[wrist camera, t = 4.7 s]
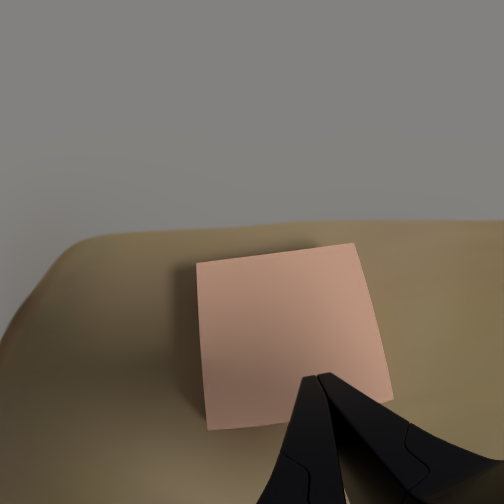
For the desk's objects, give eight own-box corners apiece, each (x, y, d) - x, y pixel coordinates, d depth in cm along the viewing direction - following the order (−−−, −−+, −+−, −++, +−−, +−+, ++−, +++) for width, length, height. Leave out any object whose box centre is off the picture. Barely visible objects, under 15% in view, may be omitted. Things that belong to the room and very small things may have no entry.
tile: (393, 399, 12) (353, 242, 16) (207, 430, 12) (196, 263, 16) (375, 404, 14) (344, 267, 18) (217, 429, 14) (205, 285, 18)
